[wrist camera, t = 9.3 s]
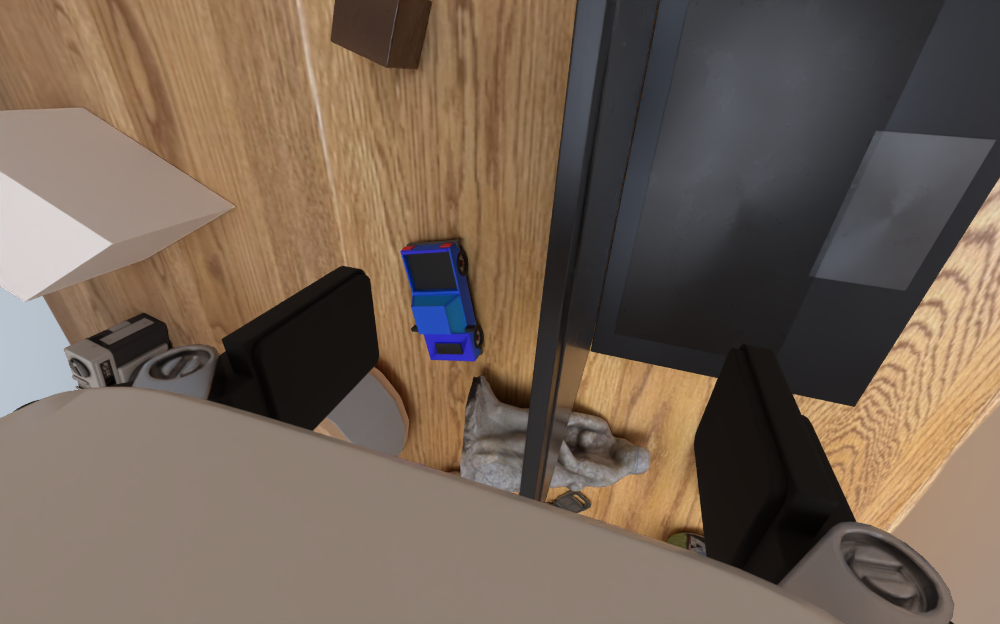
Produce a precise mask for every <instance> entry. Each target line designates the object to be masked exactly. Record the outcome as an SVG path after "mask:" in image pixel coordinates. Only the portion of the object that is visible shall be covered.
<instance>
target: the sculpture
mask: <svg viewBox="0 0 1000 624" xmlns="http://www.w3.org/2000/svg"><path fill="white" fill-rule="evenodd" d="M528 415H529V408H523V409H521V408H518V407H515V406H512V405H508V404H505V403H502V402H500V401H499V400H498V399H497V398H496V396H495V395H494V392H493V391H492V390H491V387H490V385H489V383H488V382H487V381H486V379H485V377H484V376H482V375H481V376H479V377H473V382H472V386H471V389H470V392H469V396H468V401H467V404H466V410H465V428H464V438H463V448H462V454H461V465H460V473H461V477H463V478H466V479H470V480H473V481H476V482H479V483H482V484H486V485H489V486H492V487H495V488H498V489H501V490H505V491H508V492H520V483H521V475H522V466H523V458H524V449H525V440H526V432H527V423H528ZM649 462H650V452H649V450H647V449H646V448H644V447H642V446H639V445H633V444H632V443H631V442H629V441H628V440H626V439H624V438H619V437H613V436H612V434H611V431H610V428H609V426H608V423H607V421H605V420H604V419H602V418H599V417H597V416H593V415H589V414H584V413H578V412H571V415H570V419H569V422H568V426H567V429H566V432H565V436H564V439H563V443H562V446H561V449H560V453H559V456H558V460H557V463H556V466H555V470H554V473H553V477H552V480H551V483H550V487H549V488H554V487H567V488H569V489H570V490H571V491H580V490H582V489H584V487H585V486H588V487H606V486H609V485H612V484H614V483H616V482H617V481H619V480H620V479H621V478H623V477H625V476H627V475H630V474H642V473H645V472H646V471H647V470H648V469H649V466H650V463H649Z"/></svg>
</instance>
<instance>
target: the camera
mask: <svg viewBox="0 0 1000 624" xmlns="http://www.w3.org/2000/svg"><path fill="white" fill-rule="evenodd" d="M168 350H170V345H169V339H168V333H167V327H166V325H165V324H164V323H163V322H161V321H159V320H157V319H155V318H153V317H151V316H148V315H146V314H144V313H142V314H140V315H138V316H135V317H133V318H131V319H129V320H126V321H123V322H121V323H119V324H117V325H115V326H113V327H110V328H108V329H107V330H105V331H102V332H100V333H98V334H96V335H94V336H91V337H89V338H86V339H83V340H81V341H79V342H77V343H75V344H72V345H70V346H68V347H66V348H64V351H65V354H66V356H67V359H68V362H69V365H70V368H71V370H72V373H73V376H72V378H73V379H75V380H77V381H78V385H79V387H78V386H76V388H77V389H78V390H80V389H87V388H98V387H106V386H110V385H115V384H120V383H125V382H129V381H134V380H136V378H137V376H138V374H139V372H140V370H141V368H142V367H143V366H144V365H145V363H147V362H148V361H149V360H151V359H152V358H153V357H155V356H157V355H159V354H161V353H163V352H165V351H168Z"/></svg>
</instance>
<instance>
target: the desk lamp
mask: <svg viewBox="0 0 1000 624" xmlns="http://www.w3.org/2000/svg"><path fill="white" fill-rule="evenodd" d="M408 429H409V419H408V416H407V413H406V411H405V408H404V405H403V402H402V399H401V397H400V395H399V394H398V393H397V392H396V390H395V389H394V388H393V386H392V385H391V384H390V383H389V381H388V380H387V379H386V377H385V376H384V375H383V374H382V372H380V371H379V370H378V369H376V368H375V367H374V368H373V369H372V370H371V371H370V372H369V373H368V374H367V375H366V376H365V377H364V378H363V379H362V380H361V381H360V382H359V383H358V384H357V385H356V386H355V387H354V389H353V390H352V391H351V392H350V393H349V394H348V395H347V396H346V397H345V398H344V399H343V400H342V401H341V402H340V403H339V404H338V405H337V406H336V407H335V408H334V410H333V411H332V412H331V413H330V414H329V415H328V416H327V417H326V418H325V419H324V420H323V421H322V422H321V423H320V424H319V425H318V426H317V427H316V428H315V429H314V432H317V433H321V434H324V435H327V436H331V437H334V438H337V439H340V440H344V441H347V442H350V443H354V444H357V445H360V446H363V447H367V448H370V449H373V450H376V451H379V452H383V453H386V454H389V455H392V456H396V457H397V456H398V455H399V454H400V453H401V451H402V450H403V446H404V445H405V444H406V442H407V437H408Z"/></svg>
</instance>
